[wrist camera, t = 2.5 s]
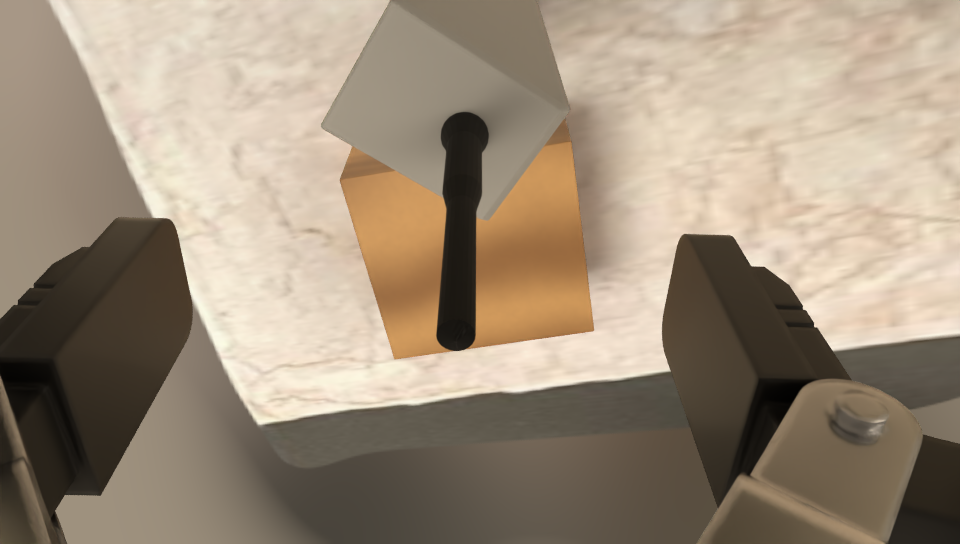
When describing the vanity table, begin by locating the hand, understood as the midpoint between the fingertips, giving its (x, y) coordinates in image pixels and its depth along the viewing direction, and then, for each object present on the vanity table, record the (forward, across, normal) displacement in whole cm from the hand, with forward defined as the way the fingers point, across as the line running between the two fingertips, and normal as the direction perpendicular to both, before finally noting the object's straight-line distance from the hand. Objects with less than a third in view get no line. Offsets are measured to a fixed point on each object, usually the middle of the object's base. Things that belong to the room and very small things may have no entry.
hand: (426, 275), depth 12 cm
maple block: (+24, -1, +11) cm, 26 cm away
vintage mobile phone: (+24, 0, 0) cm, 24 cm away
